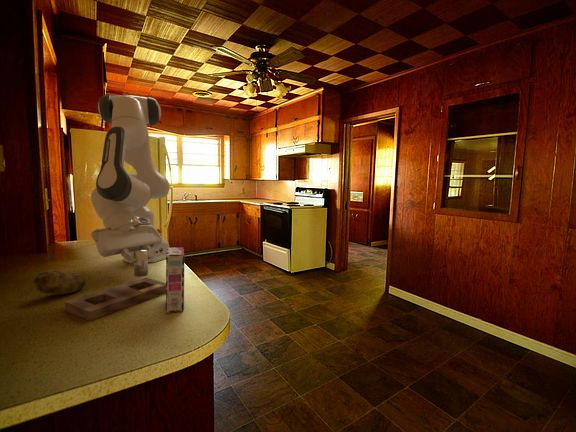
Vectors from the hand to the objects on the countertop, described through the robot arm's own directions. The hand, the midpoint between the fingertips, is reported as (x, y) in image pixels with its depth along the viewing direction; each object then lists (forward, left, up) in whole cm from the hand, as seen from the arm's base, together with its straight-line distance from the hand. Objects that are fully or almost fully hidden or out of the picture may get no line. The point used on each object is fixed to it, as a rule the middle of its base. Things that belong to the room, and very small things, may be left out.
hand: (142, 260), depth 93 cm
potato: (+13, -21, -11) cm, 27 cm away
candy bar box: (0, +15, -11) cm, 19 cm away
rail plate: (+6, -1, -11) cm, 13 cm away
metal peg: (0, -1, -5) cm, 5 cm away
